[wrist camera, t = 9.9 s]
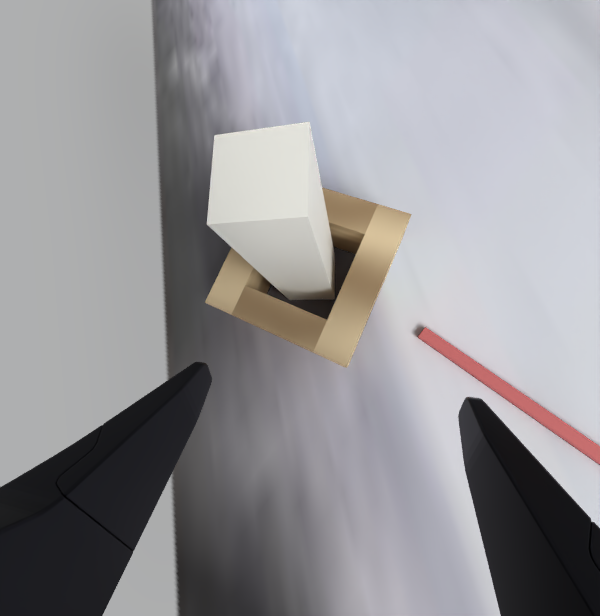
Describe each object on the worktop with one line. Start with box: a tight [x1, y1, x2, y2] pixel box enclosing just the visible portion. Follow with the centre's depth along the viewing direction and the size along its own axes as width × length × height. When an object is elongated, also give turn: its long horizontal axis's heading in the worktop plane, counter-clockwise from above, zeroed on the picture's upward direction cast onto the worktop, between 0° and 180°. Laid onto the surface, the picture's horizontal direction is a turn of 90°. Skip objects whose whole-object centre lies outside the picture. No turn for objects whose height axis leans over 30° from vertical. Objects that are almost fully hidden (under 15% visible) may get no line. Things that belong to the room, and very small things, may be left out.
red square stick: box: [418, 327, 600, 465], centre depth 17 cm, size 14×1×1 cm, turn 52°
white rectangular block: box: [207, 122, 335, 300], centre depth 16 cm, size 4×4×12 cm
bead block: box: [205, 188, 411, 367], centre depth 20 cm, size 10×10×4 cm
